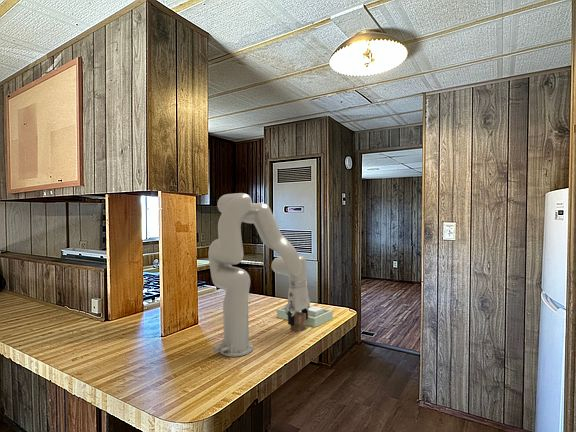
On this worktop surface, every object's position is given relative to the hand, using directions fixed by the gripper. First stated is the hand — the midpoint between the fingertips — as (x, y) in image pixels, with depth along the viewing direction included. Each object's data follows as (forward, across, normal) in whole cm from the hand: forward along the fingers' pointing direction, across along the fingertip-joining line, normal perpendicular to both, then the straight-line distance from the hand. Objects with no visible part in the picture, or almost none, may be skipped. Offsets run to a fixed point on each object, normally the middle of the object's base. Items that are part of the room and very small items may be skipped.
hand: (298, 321), depth 149 cm
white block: (+4, +14, 0) cm, 14 cm away
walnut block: (+3, 0, 0) cm, 3 cm away
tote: (+3, +14, +7) cm, 16 cm away
